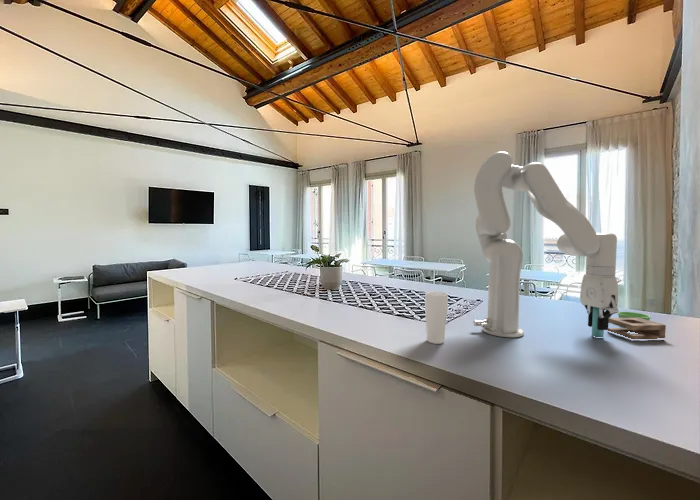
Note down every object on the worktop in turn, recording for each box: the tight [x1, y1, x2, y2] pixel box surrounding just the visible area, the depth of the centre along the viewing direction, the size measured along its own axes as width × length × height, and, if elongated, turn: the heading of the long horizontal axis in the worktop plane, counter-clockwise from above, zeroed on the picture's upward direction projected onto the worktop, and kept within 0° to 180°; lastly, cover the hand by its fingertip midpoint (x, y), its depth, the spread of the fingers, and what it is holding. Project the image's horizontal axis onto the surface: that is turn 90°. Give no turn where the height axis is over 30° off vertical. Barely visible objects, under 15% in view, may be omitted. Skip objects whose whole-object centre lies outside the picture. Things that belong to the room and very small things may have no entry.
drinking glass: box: [424, 291, 449, 345], centre depth 99 cm, size 7×7×15 cm
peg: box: [591, 307, 606, 338], centre depth 104 cm, size 3×3×10 cm
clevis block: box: [608, 317, 667, 339], centre depth 105 cm, size 11×9×5 cm
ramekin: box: [617, 311, 651, 321], centre depth 118 cm, size 9×9×4 cm
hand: (597, 327), depth 104 cm, fingers closed on peg, 3 cm apart
